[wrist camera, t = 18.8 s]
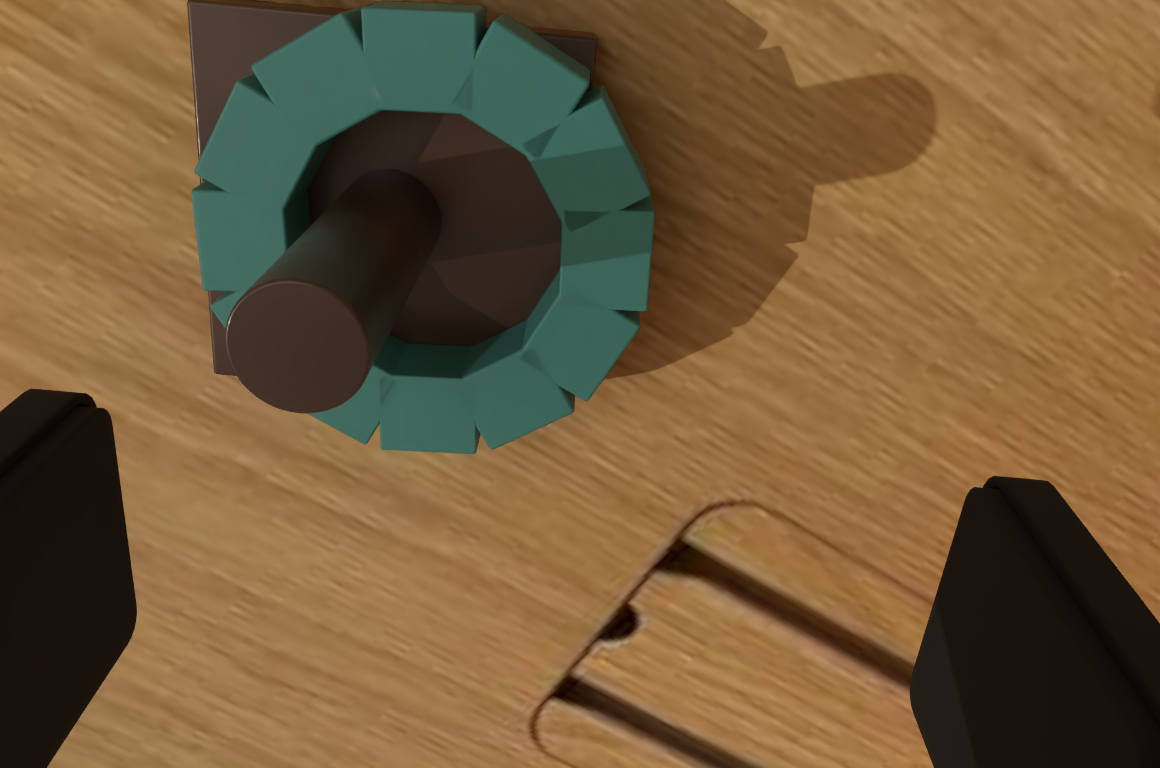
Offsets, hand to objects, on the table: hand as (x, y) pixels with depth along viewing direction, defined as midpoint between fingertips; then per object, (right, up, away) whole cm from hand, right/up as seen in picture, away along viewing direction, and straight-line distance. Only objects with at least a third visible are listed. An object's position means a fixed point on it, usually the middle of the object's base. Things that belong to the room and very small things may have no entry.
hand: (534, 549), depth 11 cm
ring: (-3, +6, +13) cm, 14 cm away
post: (-4, +6, +14) cm, 16 cm away
